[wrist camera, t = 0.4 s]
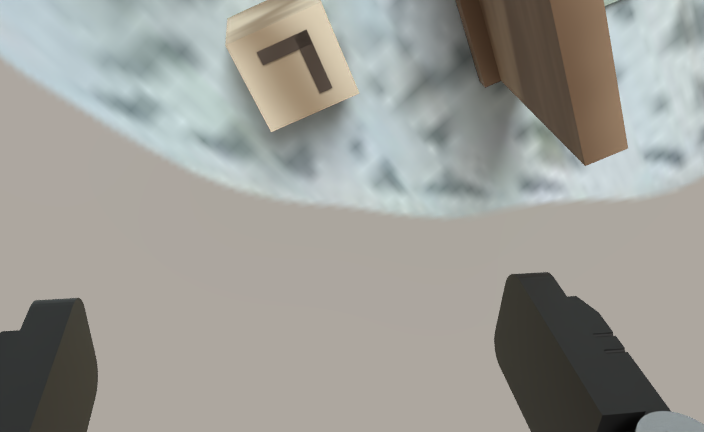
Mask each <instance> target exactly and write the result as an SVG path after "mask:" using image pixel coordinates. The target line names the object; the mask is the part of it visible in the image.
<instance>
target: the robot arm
mask: <svg viewBox="0 0 704 432" xmlns="http://www.w3.org/2000/svg"><path fill="white" fill-rule="evenodd" d="M494 342H495V352H496V357H497V360H498V363H499V366H500V368H501V370H502V372H503V374H504V376H505V378H506V380H507V382H508V384H509V387H510V389H511V391H512V393H513V395H514V397H515V399H516V401H517V403H518V405H519V408H520V410H521V411H522V414H523V416H524V418H525V420H526V422H527V424H528V426H529V428H530V430H531V432H704V424H702V423H701V422H698V421H697V420H695V419H693V418H691V417H688V416H685V415H683V414H679V413H675V412H671V411H670V409H669V408H668V407H667V405H666V404H665V403H664V401H663V400H662V399H661V397H660V396H659V394H658V393H657V392H656V390H655V389H654V387H653V386H652V385H651V383H650V382H649V381H648V379H647V378H646V377H645V375H644V374H643V372H642V371H641V370H640V368H639V367H638V366H637V364H636V363H635V362H634V360H633V359H632V358H631V356H630V355H629V353H628V352H625V350H624V347H623V345H622V344H621V343H620V341H619V340H618V338H617V337H616V336H613V332H612V330H611V329H610V328H609V326H608V325H607V323H606V322H605V321H604V319H603V318H602V317H601V315H600V314H599V313H598V312H597V311H595V310H594V309H593V308H592V307H590V306H589V305H588V304H586V303H585V302H584V301H582V300H581V299H579V298H578V297H577V296H571V297H567V296H566V295H565V293H564V292H563V290H562V289H561V287H560V286H559V285H558V283H557V282H556V280H555V279H554V277H553V276H552V275H551V274H550V273H548V272H544V273H526V274H511V275H510V276H509V277H508V278H507V280H506V284H505V288H504V293H503V297H502V302H501V307H500V311H499V316H498V321H497V325H496V330H495V338H494ZM97 382H98V369H97V361H96V356H95V351H94V347H93V342H92V338H91V334H90V329H89V325H88V321H87V316H86V312H85V308H84V304H83V302H82V300H81V299H80V298H70V299H53V300H36V301H34V302H33V303H32V304H31V306H30V308H29V311H28V313H27V315H26V318H25V320H24V322H23V325H22V327H21V329H20V330H19V331H3V332H1V333H0V432H87V429H88V425H89V421H90V417H91V413H92V408H93V405H94V401H95V396H96V391H97Z"/></svg>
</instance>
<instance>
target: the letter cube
mask: <svg viewBox="0 0 704 432" xmlns="http://www.w3.org/2000/svg"><path fill="white" fill-rule="evenodd" d="M225 46H226V47H227V49H228V51H229V53H230V55H231V57H232V59H233V61H234V63H235V65H236V66H237V68H238V70H239V72H240V74H241V76H242V78H243V80H244V82H245V83H246V85H247V87H248V89H249V91H250V93H251V95H252V97H253V99H254V101H255V102H256V104H257V106H258V108H259V110H260V112H261V114H262V116H263V118H264V119H265V121H266V123H267V125H268V127H269V129H270V131H271V132H273V131H275V130H277V129H280V128H282V127H284V126H287V125H289V124H291V123H293V122H296V121H298V120H300V119H302V118H305V117H307V116H309V115H312V114H314V113H316V112H318V111H321V110H323V109H325V108H327V107H330V106H332V105H334V104H337V103H339V102H341V101H343V100H346V99H348V98H350V97H352V96H355V95H357V94H359V91H358V89H357V86H356V84H355V81H354V79H353V77H352V74H351V72H350V69H349V67H348V65H347V62H346V60H345V58H344V55H343V53H342V50H341V48H340V46H339V43H338V41H337V39H336V36H335V34H334V31H333V29H332V27H331V24H330V22H329V20H328V17H327V15H326V12H325V10H324V8H323V5H322V3H321V1H320V0H267V1H264V2H262V3H260V4H258V5H256V6H254V7H251V8H249V9H247V10H245V11H243V12H240V13H238V14H236V15H234V16H232V17H230V18H227V31H226V44H225Z"/></svg>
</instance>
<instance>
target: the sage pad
mask: <svg viewBox="0 0 704 432" xmlns="http://www.w3.org/2000/svg"><path fill="white" fill-rule="evenodd" d="M616 1H618V0H604V5H605V6H607V5H609V4H611V3H613V2H616Z"/></svg>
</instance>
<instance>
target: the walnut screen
mask: <svg viewBox="0 0 704 432" xmlns="http://www.w3.org/2000/svg"><path fill="white" fill-rule="evenodd" d="M456 3H457V7H458V10H459V13H460V17H461V20H462V23H463V27H464V30H465V33H466V37H467V40H468V43H469V47H470V50H471V53H472V57H473V60H474V64H475V67H476V70H477V74H478V77H479V80H480V82H481V83H482V85H483V86H484V87H488V86H490V85H492V84H495V83H497V82H499V81H502V82H503V83H504V84H505V85H506V86H507V87H508V88H509V89H510V90H511V91H512V92H513V93H514V94H515V95H516V96H517V97H518V98H519V99H520V100H521V101H522V103H523V104H524V105H525V106H526V107H527V108H528V109H529V110H530V111H531V112H532V113H533V114H534V115H535V116H536V117H537V118H538V119H539V120H540V121H541V122H542V123H543V124H544V125H545V126H546V127H547V128H548V129H549V130H550V131H551V132H552V133H553V134H554V135H555V136H556V137H557V138H558V139H559V140H560V141H561V142H562V143H563V144H564V145H565V146H566V147H567V148H568V149H569V150H570V151H571V152H572V153H573V154H574V155H575V156H576V157H577V158H578V159H579V160H580V161H581V162H582V163H583V164H584V165H585V166H586V165H589V164H591V163H594V162H596V161H598V160H601V159H603V158H606V157H608V156H611V155H613V154H615V153H618V152H620V151H623V150H625V149H627V148H628V145H627V139H626V133H625V127H624V121H623V115H622V109H621V103H620V97H619V90H618V84H617V78H616V72H615V66H614V60H613V54H612V48H611V42H610V36H609V30H608V24H607V17H606V11H605V5H604V0H456Z"/></svg>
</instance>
